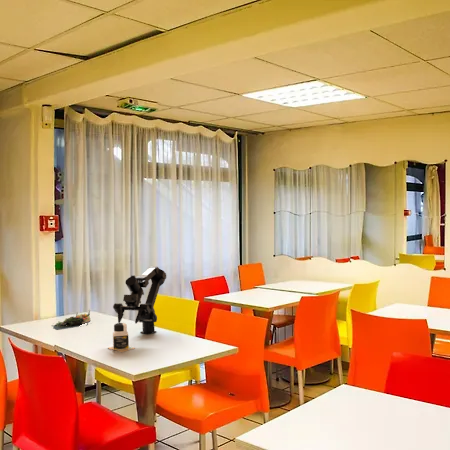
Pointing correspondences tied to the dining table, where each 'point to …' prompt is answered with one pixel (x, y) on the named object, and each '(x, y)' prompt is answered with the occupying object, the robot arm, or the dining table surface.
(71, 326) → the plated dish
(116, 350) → the envelope
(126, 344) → the medicine bottle
